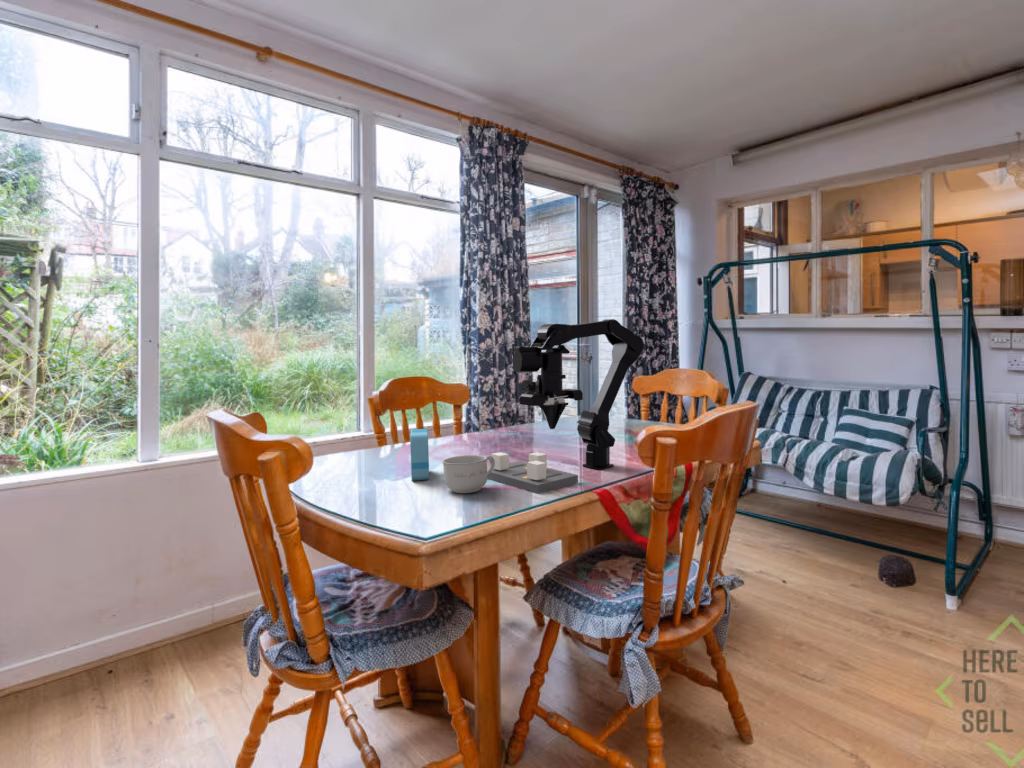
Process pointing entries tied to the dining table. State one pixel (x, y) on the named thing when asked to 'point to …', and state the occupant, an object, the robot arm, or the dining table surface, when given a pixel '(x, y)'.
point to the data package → (419, 454)
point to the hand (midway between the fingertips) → (552, 428)
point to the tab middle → (538, 457)
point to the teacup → (467, 472)
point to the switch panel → (519, 479)
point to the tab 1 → (501, 461)
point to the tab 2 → (536, 470)
